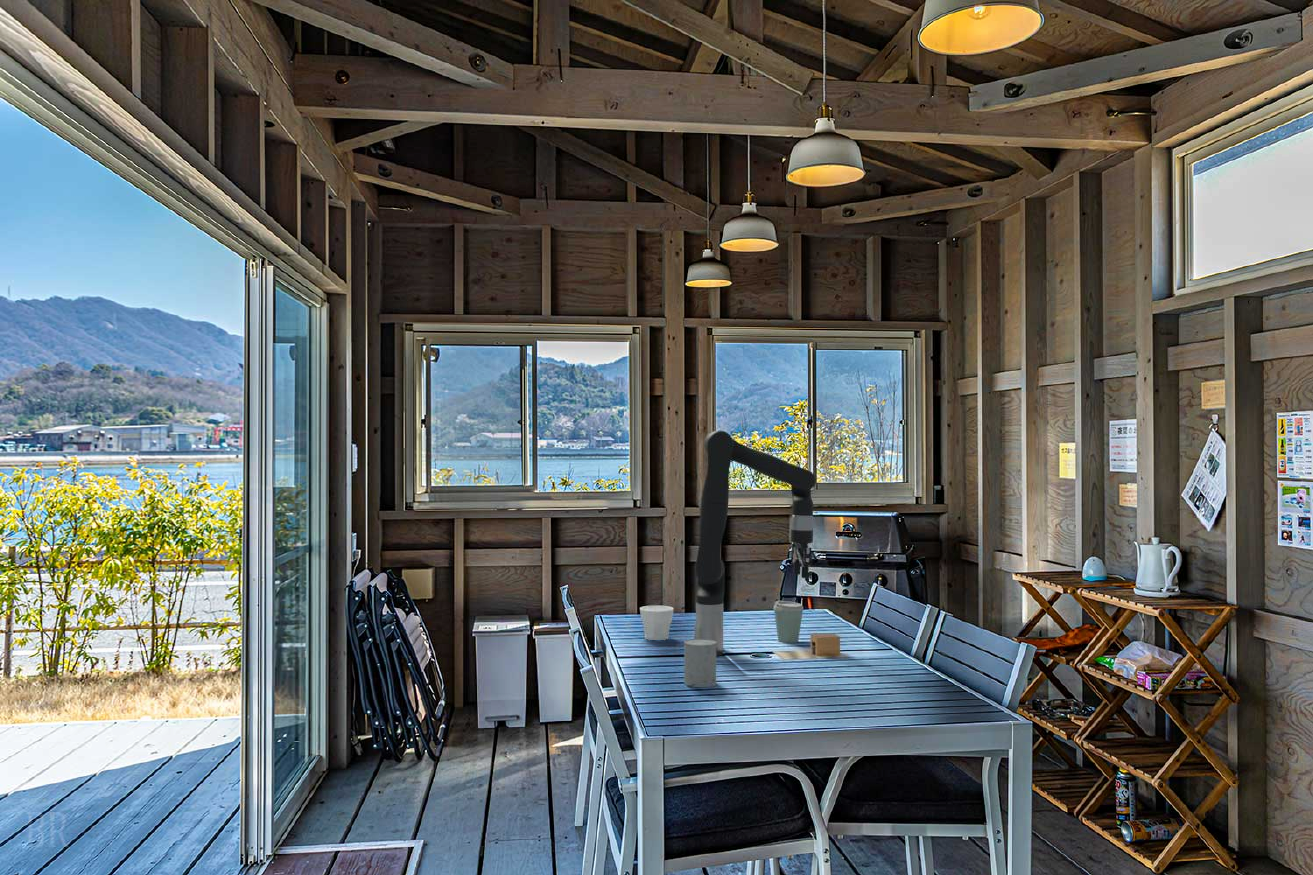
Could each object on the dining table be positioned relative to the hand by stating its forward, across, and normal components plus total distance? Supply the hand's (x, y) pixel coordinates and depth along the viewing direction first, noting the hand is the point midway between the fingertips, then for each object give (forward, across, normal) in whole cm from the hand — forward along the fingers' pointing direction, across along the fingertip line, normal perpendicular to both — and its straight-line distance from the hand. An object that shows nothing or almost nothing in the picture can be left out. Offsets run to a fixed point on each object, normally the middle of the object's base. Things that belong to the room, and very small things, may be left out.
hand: (800, 576), depth 320 cm
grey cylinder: (+27, -35, +42) cm, 61 cm away
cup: (+28, +31, +44) cm, 60 cm away
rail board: (+26, -9, -1) cm, 27 cm away
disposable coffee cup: (+26, +13, -1) cm, 30 cm away
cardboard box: (+24, -9, -6) cm, 27 cm away
